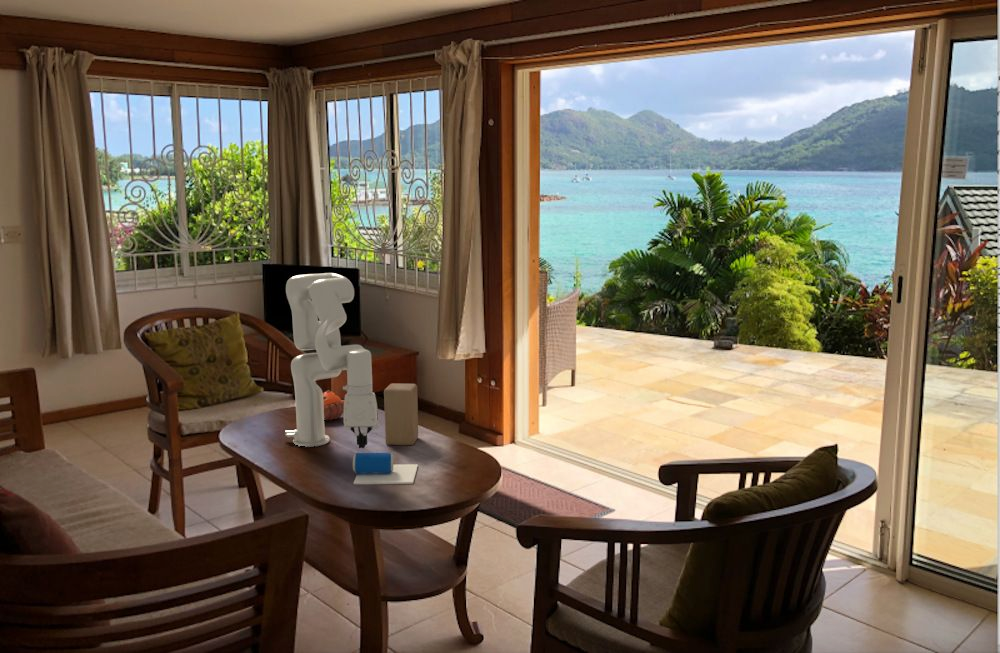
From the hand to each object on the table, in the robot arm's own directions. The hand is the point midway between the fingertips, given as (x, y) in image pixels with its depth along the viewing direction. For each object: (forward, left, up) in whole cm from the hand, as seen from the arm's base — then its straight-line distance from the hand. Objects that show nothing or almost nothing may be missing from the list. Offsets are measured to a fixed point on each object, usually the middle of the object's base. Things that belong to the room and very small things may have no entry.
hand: (362, 446), depth 259 cm
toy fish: (-23, +62, -9) cm, 67 cm away
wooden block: (+8, +34, -10) cm, 36 cm away
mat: (+7, 0, -9) cm, 12 cm away
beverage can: (-3, 0, -5) cm, 6 cm away
